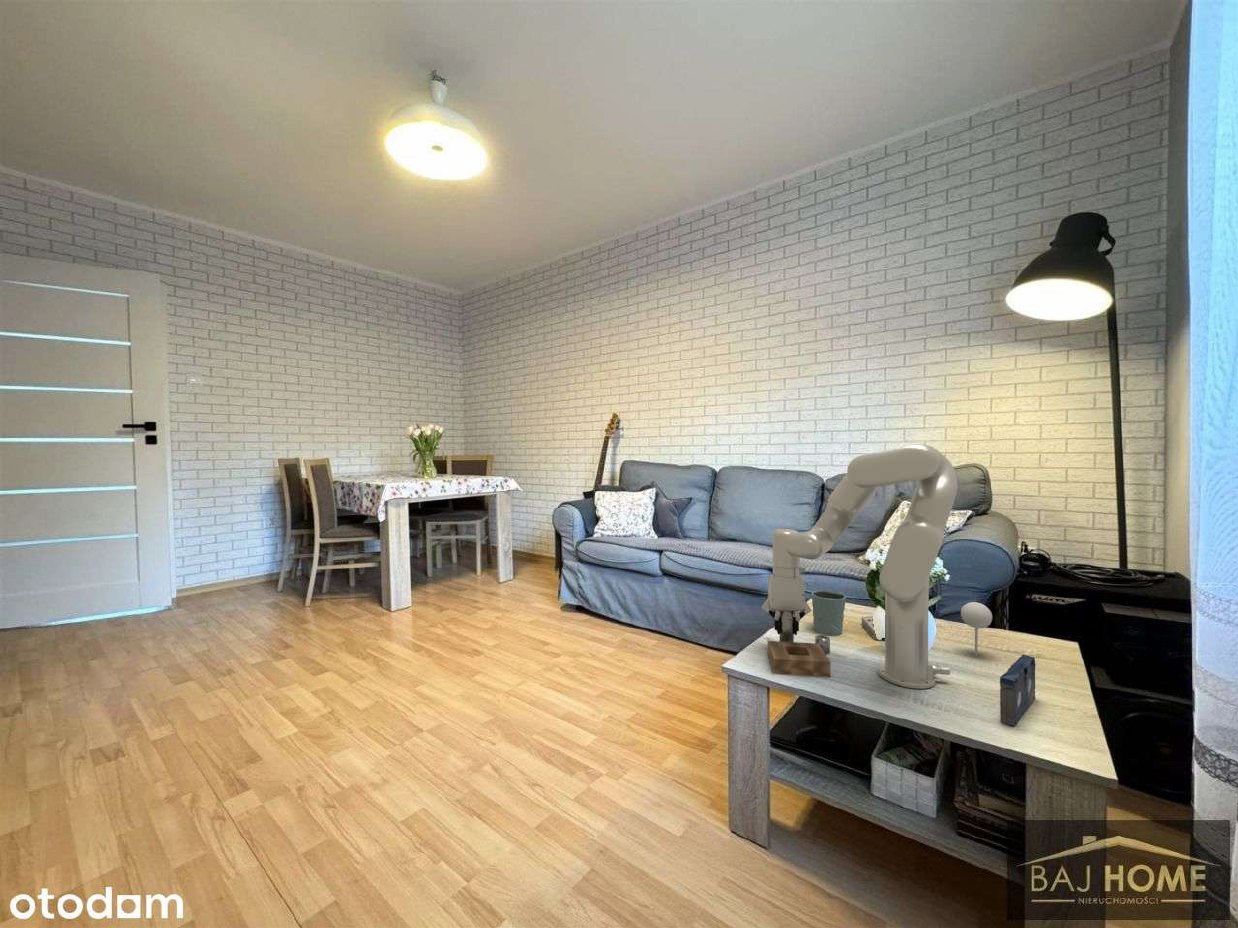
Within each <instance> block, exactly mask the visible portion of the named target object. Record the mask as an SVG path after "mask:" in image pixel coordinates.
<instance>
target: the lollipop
mask: <svg viewBox="0 0 1238 928" xmlns="http://www.w3.org/2000/svg"><path fill="white" fill-rule="evenodd" d="M960 616H961V619H962V621H963V622H964V623H965V624H966V625H967V626H969V627H970V628H974V656H976V657H977V656H979V653H978V652H979V648H978V647H979V645H978V644H979V639H978V638H979V631H978V630H979V629H985V628H988V627H989V626H990V625H991V623H992V621H993V614H992V611H991V610H990V609H989V608H988V606H986V605H985V604H983V603H980V602H976V601H972V602H967V603H966V604H964V605H963V606H962V607H961V610H960Z"/></svg>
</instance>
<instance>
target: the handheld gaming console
mask: <svg viewBox="0 0 1238 928" xmlns="http://www.w3.org/2000/svg"><path fill="white" fill-rule="evenodd" d="M873 616H874V615H870V616H869V615H868V616H862V617H861V625H862V627H863V628H864V629H865V630H866V631H867V633H868V634H869V635H870V636H871V637H872V639H873V640H875V641H878V640H877V637H876V634H875V630H874V624H873Z"/></svg>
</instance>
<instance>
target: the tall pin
mask: <svg viewBox="0 0 1238 928" xmlns="http://www.w3.org/2000/svg"><path fill="white" fill-rule="evenodd" d="M779 620H780V622H781V634H778V635H779V642H795V634H794V611H780V615H779Z"/></svg>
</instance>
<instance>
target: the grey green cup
mask: <svg viewBox="0 0 1238 928" xmlns="http://www.w3.org/2000/svg"><path fill="white" fill-rule="evenodd" d="M846 599H847V596H846V595H845V594H843V593H841V592H839V591H834V590H833V591H832V590H828V589H827V590H825V589H824V590H822V589H818V590H813V591H811V605H812V616H813V617H812V618H813V619H812V621H813V623H812V624H813V630H814V632H816V633H817V634H819V635H820V634H821V635H822V636H827V637H830V636H831V637H836V636H837V637H838V636H840V635H842V633H843V628H844V626H843V625H844V623H843V622H844V616H845V614H844V613H845V607H846V601H847V600H846Z"/></svg>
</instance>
